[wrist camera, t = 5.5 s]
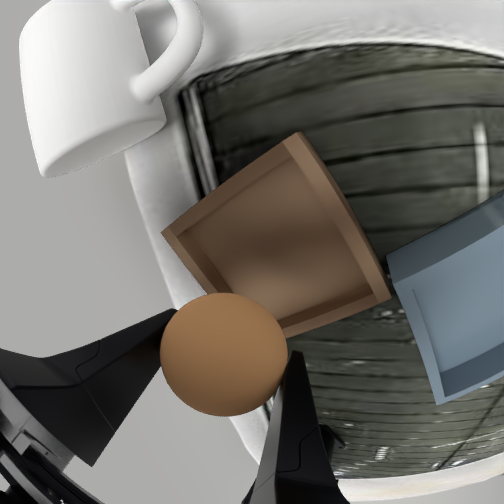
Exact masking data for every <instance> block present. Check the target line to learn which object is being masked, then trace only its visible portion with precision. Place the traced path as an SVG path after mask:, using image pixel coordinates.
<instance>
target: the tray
mask: <svg viewBox="0 0 504 504" xmlns="http://www.w3.org/2000/svg"><path fill="white" fill-rule="evenodd" d="M161 234H162V235H163V236H164V238H165V239H166V241H167V242H168V243H169V245H170V246H171V247H172V249H173V250H174V251H175V253H176V254H177V255H178V257H179V258H180V259H181V261H182V262H183V263H184V265H185V266H186V267H187V269H188V270H189V271H190V272H191V274H192V275H193V276H194V278H195V279H196V280H197V281H198V283H199V284H200V285H201V287H202V288H203V289H204V290H205V292H206V293H207V294H213V293H232V294H237V295H241V296H244V297H247V298H249V299H251V300H253V301H255V302H257V303H259V304H260V305H262V306H263V307H264V308H266V309H267V310H268V311H269V312H270V313H271V314H272V316H273V317H274V318H275V319H276V321H277V322H278V324H279V325H280V327H281V329H282V331H283V334H284V336H285V338H289V337H292V336H295V335H298V334H301V333H304V332H307V331H309V330H312V329H315V328H318V327H321V326H324V325H326V324H329V323H332V322H335V321H337V320H340V319H342V318H345V317H348V316H350V315H353V314H355V313H358V312H360V311H363V310H365V309H368V308H370V307H373V306H375V305H377V304H380V303H382V302H384V301H387V300H389V299H391V298H392V297H391V292H390V287H389V282H388V277H387V275H386V273H385V271H384V269H383V267H382V265H381V263H380V261H379V259H378V257H377V255H376V253H375V251H374V249H373V247H372V245H371V243H370V241H369V239H368V237H367V235H366V234H365V232H364V230H363V228H362V226H361V224H360V222H359V221H358V219H357V217H356V215H355V214H354V212H353V210H352V208H351V207H350V205H349V203H348V201H347V200H346V198H345V196H344V195H343V193H342V191H341V190H340V188H339V186H338V185H337V183H336V181H335V180H334V178H333V177H332V175H331V173H330V172H329V170H328V169H327V167H326V166H325V164H324V162H323V161H322V159H321V158H320V156H319V155H318V153H317V152H316V150H315V149H314V147H313V146H312V144H311V143H310V141H309V140H308V139H307V137H306V136H305V134H304V133H303V131H301V132H296V133H294V134H293V135H291V136H290V137H288V138H287V139H285V140H284V141H282V142H281V143H279V144H278V145H276V146H275V147H273V148H272V149H270V150H269V151H268V152H266V153H265V154H263V155H262V156H260V157H259V158H257V159H256V160H255V161H253V162H252V163H250V164H249V165H247V166H246V167H245V168H243V169H242V170H241V171H239V172H238V173H236V174H235V175H234V176H232V177H231V178H230V179H228V180H227V181H225V182H224V183H223V184H221V185H220V186H219V187H217V188H216V189H215V190H213V191H212V192H211V193H210V194H208V195H207V196H206V197H204V198H203V199H202V200H200V201H199V202H198V203H197V204H195V205H194V206H193V207H191V208H190V209H189V210H188V211H186V212H185V213H184V214H183V215H181V216H180V217H179V218H178V219H176V220H175V221H174V222H173V223H172V224H170V225H169V226H168V227H167V228H165V229H164V230H163V231H162V232H161Z"/></svg>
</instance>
